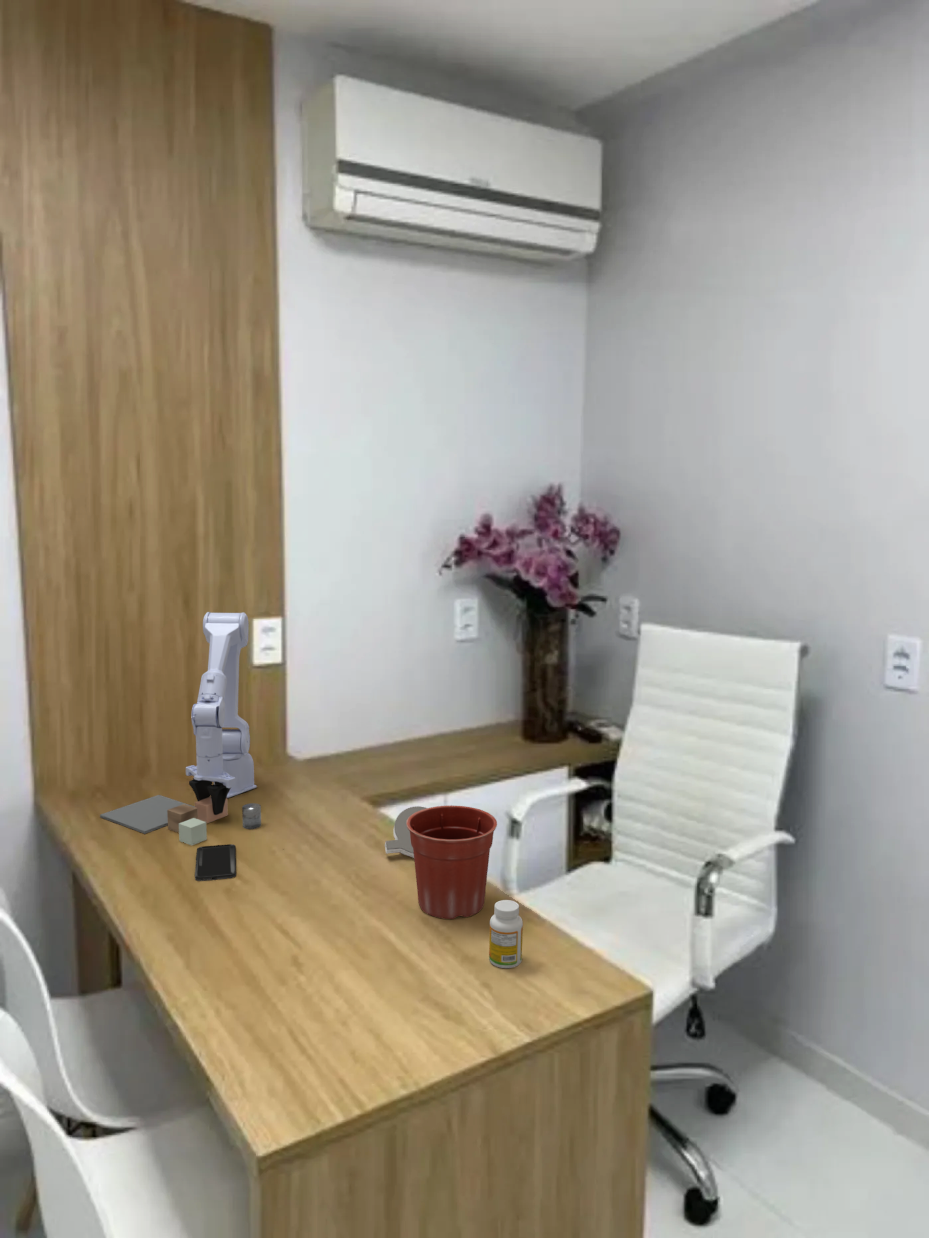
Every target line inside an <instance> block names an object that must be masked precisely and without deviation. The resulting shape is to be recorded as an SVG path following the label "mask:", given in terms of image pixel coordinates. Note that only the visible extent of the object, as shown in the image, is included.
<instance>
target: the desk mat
mask: <svg viewBox="0 0 929 1238" xmlns="http://www.w3.org/2000/svg"><path fill="white" fill-rule="evenodd" d="M183 804H185V805H188V806H191V807H195V805H191V804H187V803H185V802H182V801H178V800H176V799H174V798H173V799H172V798H170V797H167V796H163V795H161V794H157V795H153V796H151V797H148V798H146V799H142V800H139V801H137V802H133V803H131V804H128V805H124V806H121V807H118V808H116V809H114V810H111V811H106V812H104V813H101V814H99V817H100V819H101V818H102V819H104V820H106V821H109V822H112V823H114V824H118V825H120V826H122V827H125V828H128V829H130V830H133V831H136V832H139V833H142V834H148V833H151V832H154V831H156V830H159V829H161V828H164V827H168V816H167V810H169V809H171V808H174V807H177V806H180V805H183Z"/></svg>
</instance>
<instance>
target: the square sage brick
mask: <svg viewBox="0 0 929 1238" xmlns="http://www.w3.org/2000/svg"><path fill="white" fill-rule="evenodd" d="M178 838H179V839H178V841H179V842H180V843H183V842H184V844H186V845H188V846H194V845H197V844H199V843H202V842H204V841H207V840H208V839H207V838H208V836H207V823H206V822H204V821H201V820H199V819H196V818H192V819H190V820H187V821H184V822H182V823H179V833H178Z"/></svg>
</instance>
